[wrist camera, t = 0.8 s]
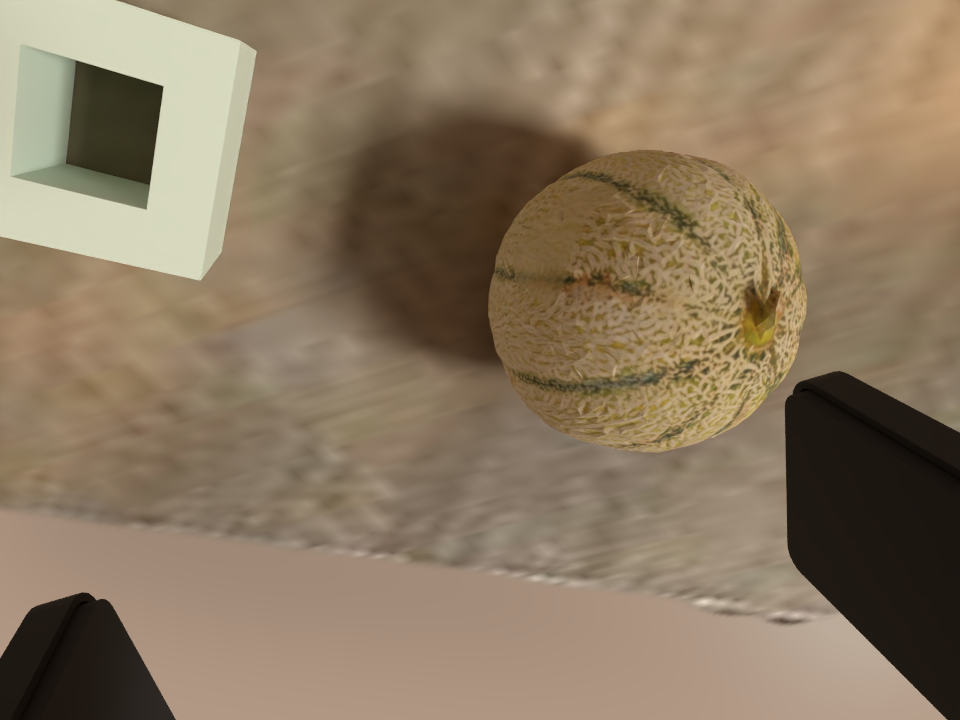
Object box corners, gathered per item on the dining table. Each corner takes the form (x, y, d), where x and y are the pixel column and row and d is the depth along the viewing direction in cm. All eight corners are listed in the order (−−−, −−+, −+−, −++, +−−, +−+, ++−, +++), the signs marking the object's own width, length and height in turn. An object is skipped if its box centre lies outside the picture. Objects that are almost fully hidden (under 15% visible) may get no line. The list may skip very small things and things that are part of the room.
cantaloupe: (418, 323, 38) (467, 446, 24) (550, 86, 35) (690, 76, 21) (616, 419, 43) (748, 565, 30) (747, 220, 40) (962, 281, 26)
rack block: (19, -26, 29) (-55, -56, 23) (256, 51, 32) (240, 40, 26) (2, 200, 32) (-67, 221, 26) (221, 252, 35) (200, 280, 29)
